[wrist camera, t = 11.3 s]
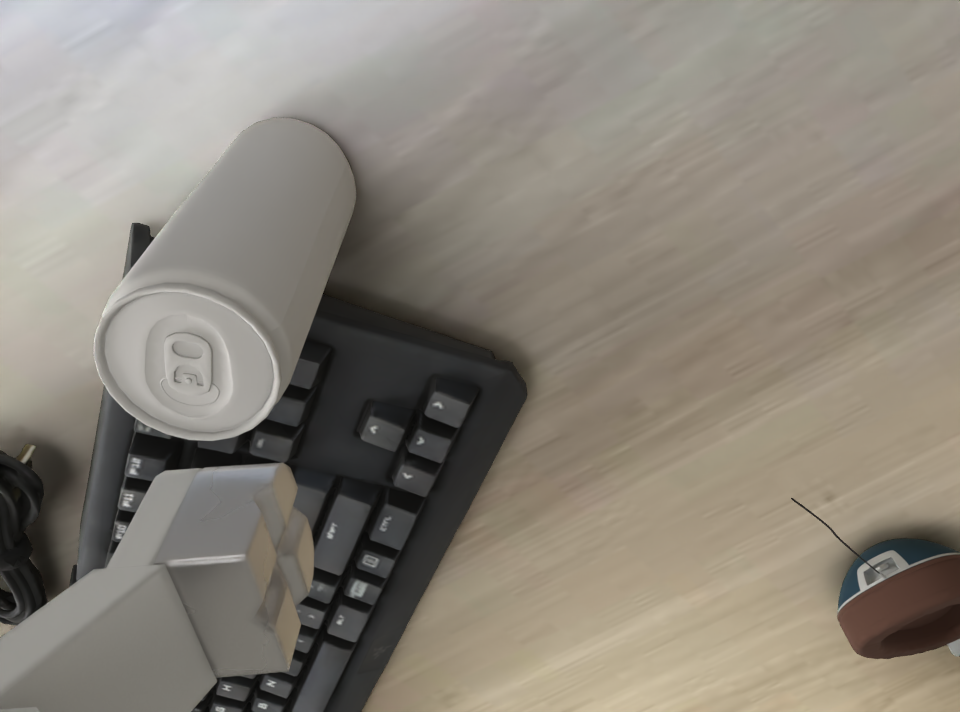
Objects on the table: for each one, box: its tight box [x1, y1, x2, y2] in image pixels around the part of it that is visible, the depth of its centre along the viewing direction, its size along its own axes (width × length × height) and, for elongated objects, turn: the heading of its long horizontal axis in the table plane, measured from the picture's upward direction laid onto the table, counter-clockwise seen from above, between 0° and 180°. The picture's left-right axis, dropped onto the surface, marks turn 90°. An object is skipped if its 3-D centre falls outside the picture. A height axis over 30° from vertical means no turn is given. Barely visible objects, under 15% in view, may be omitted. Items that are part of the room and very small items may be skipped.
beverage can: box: [93, 118, 357, 441], centre depth 26 cm, size 5×5×12 cm
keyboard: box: [0, 223, 527, 712], centre depth 41 cm, size 37×22×5 cm, turn 159°
